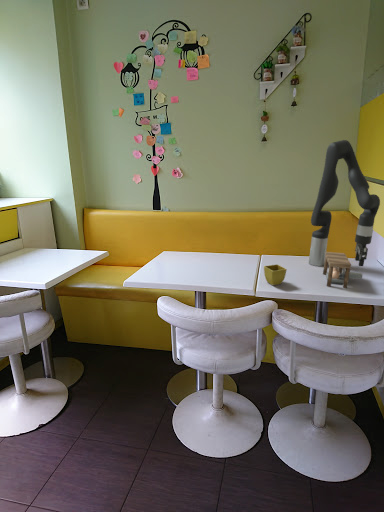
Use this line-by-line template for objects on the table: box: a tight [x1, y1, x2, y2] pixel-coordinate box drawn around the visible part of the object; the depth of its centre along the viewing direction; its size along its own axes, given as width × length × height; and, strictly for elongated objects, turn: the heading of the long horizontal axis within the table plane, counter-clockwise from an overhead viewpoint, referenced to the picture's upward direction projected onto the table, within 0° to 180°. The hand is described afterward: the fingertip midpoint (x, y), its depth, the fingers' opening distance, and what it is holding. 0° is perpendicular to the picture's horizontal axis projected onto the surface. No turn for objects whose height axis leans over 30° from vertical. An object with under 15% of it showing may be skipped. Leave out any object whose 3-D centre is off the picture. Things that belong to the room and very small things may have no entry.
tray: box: [325, 267, 363, 286], centre depth 185 cm, size 10×17×6 cm, turn 76°
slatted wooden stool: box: [322, 251, 352, 289], centre depth 185 cm, size 20×10×13 cm, turn 166°
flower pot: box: [263, 264, 288, 286], centre depth 181 cm, size 9×9×9 cm
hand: (359, 263), depth 182 cm, fingers open, 8 cm apart
